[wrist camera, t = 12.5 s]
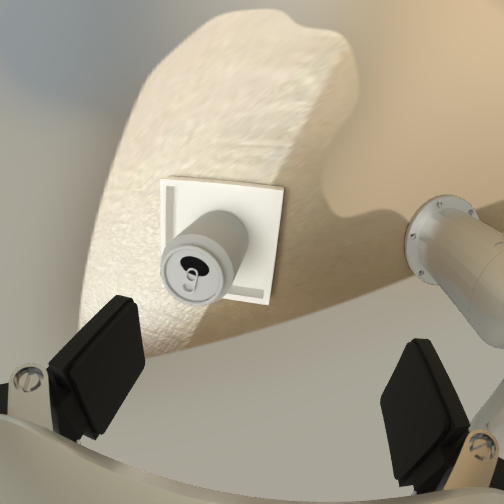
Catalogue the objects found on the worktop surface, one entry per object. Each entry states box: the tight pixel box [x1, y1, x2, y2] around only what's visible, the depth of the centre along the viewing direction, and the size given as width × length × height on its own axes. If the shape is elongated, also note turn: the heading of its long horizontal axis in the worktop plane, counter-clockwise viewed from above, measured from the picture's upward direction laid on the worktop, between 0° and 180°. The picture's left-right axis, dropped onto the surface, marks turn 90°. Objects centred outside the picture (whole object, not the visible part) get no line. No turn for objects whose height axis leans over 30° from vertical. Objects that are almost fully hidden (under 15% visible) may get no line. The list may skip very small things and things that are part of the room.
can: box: [160, 211, 249, 306], centre depth 32 cm, size 8×8×12 cm
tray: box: [160, 176, 284, 305], centre depth 37 cm, size 15×15×3 cm
